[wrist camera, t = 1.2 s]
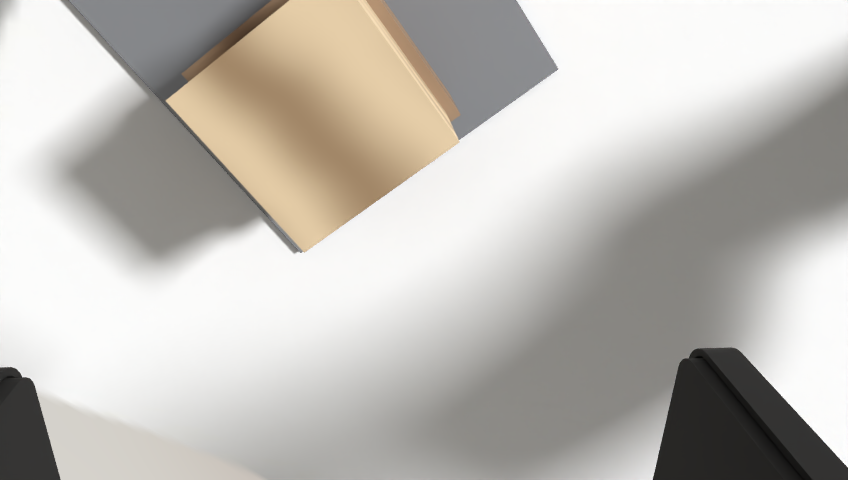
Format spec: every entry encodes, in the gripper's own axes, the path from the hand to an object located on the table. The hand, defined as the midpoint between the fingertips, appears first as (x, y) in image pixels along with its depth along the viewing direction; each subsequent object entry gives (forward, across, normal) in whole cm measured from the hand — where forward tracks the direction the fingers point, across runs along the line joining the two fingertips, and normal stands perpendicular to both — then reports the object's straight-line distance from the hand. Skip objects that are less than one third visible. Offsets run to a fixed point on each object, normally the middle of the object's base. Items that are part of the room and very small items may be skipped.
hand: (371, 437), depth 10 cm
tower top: (+22, +2, 0) cm, 22 cm away
